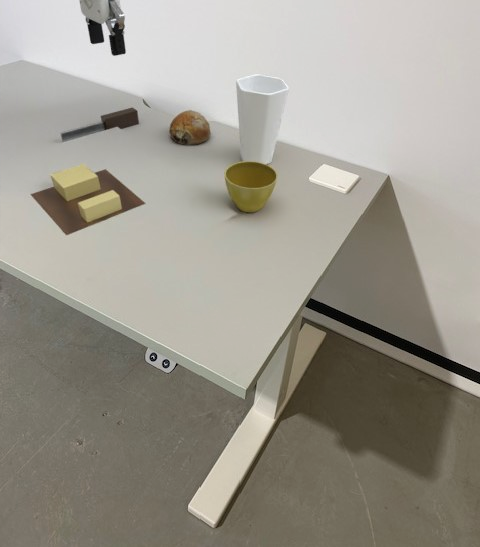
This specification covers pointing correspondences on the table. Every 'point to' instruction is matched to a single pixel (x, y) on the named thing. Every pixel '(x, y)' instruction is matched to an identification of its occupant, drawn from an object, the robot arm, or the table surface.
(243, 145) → the cup
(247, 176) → the flower pot
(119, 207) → the butter slice
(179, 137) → the bread roll
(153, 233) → the table surface
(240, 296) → the table surface
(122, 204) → the board
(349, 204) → the table surface
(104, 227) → the table surface
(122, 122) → the knife
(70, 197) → the butter block
